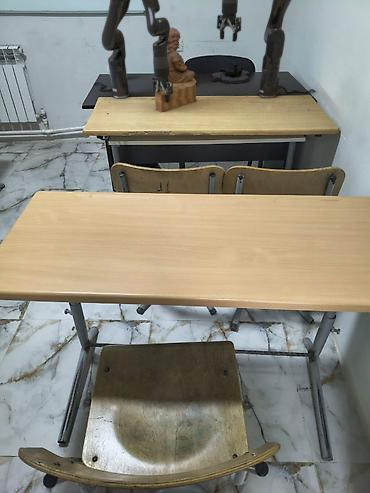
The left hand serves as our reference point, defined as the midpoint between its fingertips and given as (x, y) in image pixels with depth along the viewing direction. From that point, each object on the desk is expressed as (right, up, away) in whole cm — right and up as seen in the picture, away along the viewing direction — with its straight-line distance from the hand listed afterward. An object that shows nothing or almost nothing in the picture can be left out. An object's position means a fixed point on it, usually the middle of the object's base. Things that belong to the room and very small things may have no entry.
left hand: (163, 100), depth 185 cm
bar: (+7, +1, +7) cm, 10 cm away
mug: (-33, +34, +49) cm, 68 cm away
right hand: (+33, +28, -5) cm, 44 cm away
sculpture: (+6, +27, +39) cm, 48 cm away
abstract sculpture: (+41, +31, +42) cm, 66 cm away
